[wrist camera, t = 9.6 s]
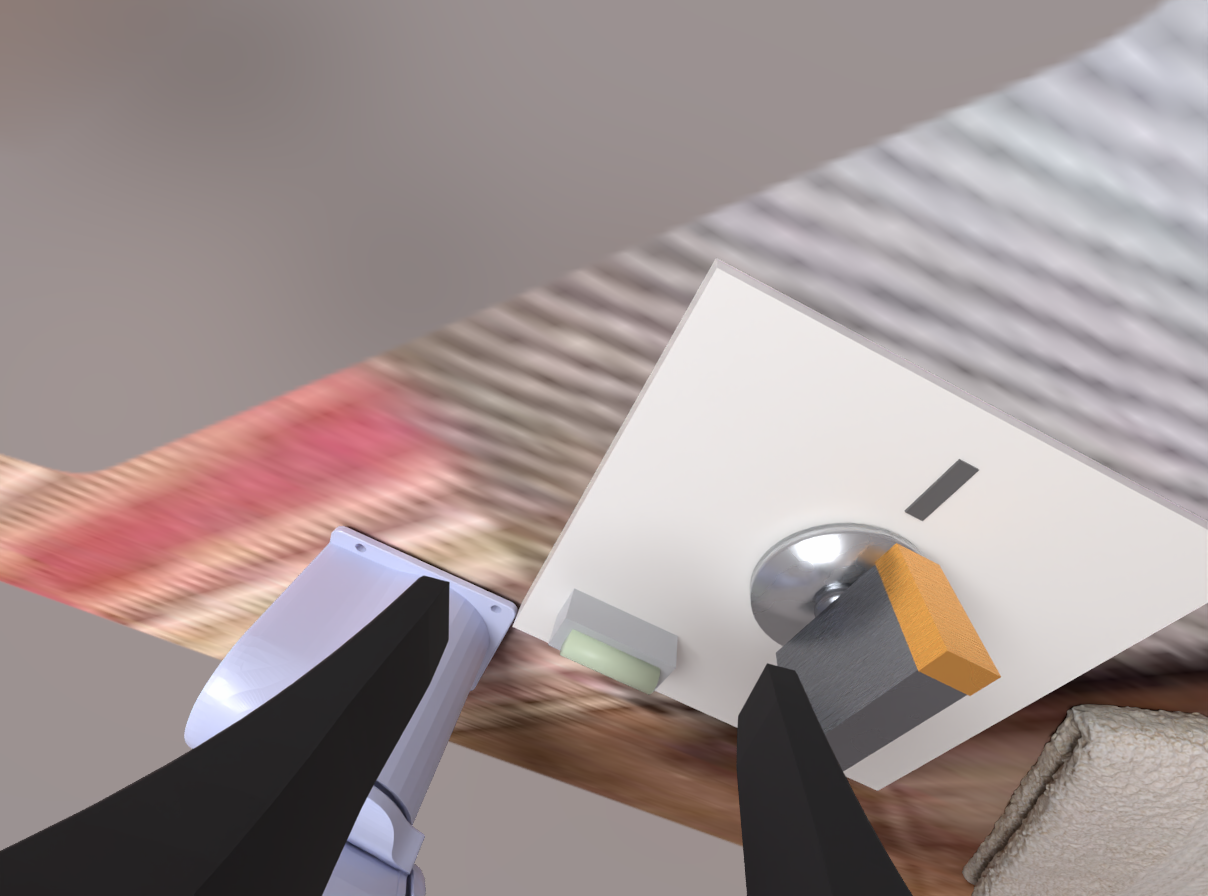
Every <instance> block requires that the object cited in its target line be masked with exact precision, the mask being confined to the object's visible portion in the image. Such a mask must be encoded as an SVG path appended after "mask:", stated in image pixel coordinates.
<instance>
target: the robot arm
mask: <svg viewBox="0 0 1208 896" xmlns="http://www.w3.org/2000/svg"><path fill="white" fill-rule="evenodd" d="M517 610H518V609H517V606H516V605H515V604H514V603H512V602H511V601H509V600H506V599H504V598H502V597H500V596H497V595H495V594H493V593H491V592H489V591H486V590H484V589H482V588H480V587H478V586H475V585H473V584H471V583H469V582H467V581H464V580H462V579H460V578H458V577H456V576H453V575H451V574H449V573H447V572H445V571H442V570H440V569H438V568H436V567H434V566H431V565H429V564H427V563H425V562H423V561H420V560H418V559H416V558H414V557H412V556H409V555H407V554H405V553H403V552H401V551H398V550H396V549H394V548H392V547H389V546H387V545H385V544H383V543H381V542H378V541H376V540H374V539H372V538H370V537H367V536H365V535H363V534H361V533H359V532H356V531H354V530H352V529H350V528H348V527H344V526H339V527H337V528H336V529H335V530H334V531H333V532H332V534H331V539H330V543H329V544H328V545H327V546H326V547H325V548H324V549H323V550H322V551H321V552H320V553H319V555H318V556H317V557H316V558H315V559H314V560H313V561H312V562H311V563H310V564H309V565H308V566H307V567H306V568H305V569H304V571H303V572H302V573H301V574H300V575H299V576H298V577H297V578H296V579H295V580H294V581H293V582H292V583H291V584H290V585H289V587H288V588H287V589H286V590H285V591H284V592H283V593H282V594H281V595H280V596H279V597H278V598H277V599H276V600H275V602H274V603H273V604H272V605H271V606H270V607H269V608H268V609H267V610H266V611H265V612H264V613H263V614H262V615H261V616H260V618H259V619H258V620H257V621H256V622H255V623H254V624H253V625H252V626H251V627H250V628H249V629H248V630H247V631H246V633H245V634H244V635H243V636H242V637H241V638H240V639H239V640H238V642H237V643H236V644H235V645H234V646H233V648H232V649H231V650H230V651H229V653H228V654H227V655H226V657H225V658H224V659H223V661H222V662H221V663H220V665H219V666H218V667H217V669H216V670H215V672H214V673H213V675H212V676H211V678H210V679H209V681H208V682H207V684H206V685H205V687H204V688H203V690H202V692H201V694H200V695H199V697H198V699H197V701H196V703H195V705H194V707H193V709H192V711H191V714H190V716H189V719H188V722H187V725H186V729H185V736H184V738H185V742H186V744H187V745H188V746H189V747H190V748H192V750H191V751H189V752H187V753H185V754H184V755H182V756H180V757H179V758H177V759H175V760H174V761H172V762H170V763H168V764H167V765H165V766H163V767H161V768H159V769H158V770H156V771H154V772H152V773H150V774H148V775H147V776H145V777H143V778H141V779H139V780H138V781H136V782H134V783H132V784H130V785H129V786H127V787H125V788H123V789H121V790H119V791H118V792H116V793H114V794H112V795H110V796H109V797H107V798H105V799H103V800H102V801H99V802H98V803H96V804H94V805H92V806H90V807H88V808H86V809H85V810H82V811H80V812H78V813H76V814H74V815H72V816H70V817H68V818H66V819H64V820H62V821H60V822H58V823H56V824H54V825H52V826H50V827H48V828H46V829H44V830H42V831H40V832H38V833H36V834H34V835H32V836H30V837H28V838H26V839H24V840H22V841H20V842H18V843H16V844H14V845H12V846H9V847H7V848H5V849H3V850H1V851H0V896H425V894H426V888H425V879H424V875H423V873H422V870H421V869H420V868H419V867H418V866H417V865H416V864H414V863H415V860H416V858H417V855H418V853H419V850H420V847H421V845H422V843H423V840H424V838H425V836H424V834H423V833H421V832H420V831H418V830H417V829H415V828H414V827H413V826H412V825H413V823H414V820H415V818H416V816H417V813H418V811H419V809H420V806H421V804H422V802H423V799H424V797H425V794H426V792H427V790H428V787H429V785H430V783H431V781H432V778H433V776H434V774H435V771H436V769H437V767H438V764H439V762H440V759H441V757H442V755H443V753H444V750H445V748H446V746H447V743H448V741H449V739H450V736H451V734H452V732H453V729H454V727H455V725H456V722H457V720H458V718H459V715H460V713H461V711H462V708H463V706H464V704H465V701H466V699H467V697H468V694H469V692H470V691H472V690H474V689H475V687H476V685H477V684H478V682H479V680H480V678H481V676H482V675H483V673H484V671H485V669H486V668H487V666H488V664H489V662H490V661H491V659H492V657H493V655H494V653H495V652H496V650H497V648H498V646H499V645H500V643H501V641H502V639H503V638H504V636H505V634H506V632H507V631H508V629H509V627H510V625H511V623H512V622H513V620H514V618H515V616H516V614H517ZM737 778H738V791H739V804H740V816H741V828H742V840H743V851H744V863H745V875H746V887H747V896H913V895H912V894H911V892H910V891H909V889H908V887H907V886H906V884H905V882H904V881H903V879H902V878H901V876H900V874H899V873H898V871H897V869H896V867H895V866H894V864H893V862H892V861H891V859H890V857H889V856H888V854H887V852H886V850H885V849H884V847H883V845H882V843H881V842H880V840H879V838H878V836H877V834H876V833H875V831H874V829H873V827H872V825H871V824H870V822H869V820H868V818H867V816H866V815H865V813H864V811H863V809H862V807H861V805H860V803H859V801H858V800H857V798H856V796H855V794H854V792H853V790H852V788H851V786H850V784H849V782H848V780H847V778H846V776H845V774H844V772H843V770H842V768H841V766H840V764H839V762H838V760H837V758H836V756H835V754H834V752H833V750H832V748H831V746H830V744H829V742H828V740H827V738H826V736H825V733H824V731H823V729H822V727H821V725H820V723H819V721H818V719H817V716H816V714H815V712H814V710H813V708H812V705H811V703H810V701H809V699H808V697H807V694H806V692H805V690H804V688H803V685H802V683H801V681H800V679H799V676H798V674H797V673H796V671H795V670H791V669H788V668H784V667H780V666H776V665H772V664H768V663H767V664H766V666H765V668H764V670H763V672H762V673H761V675H760V677H759V679H758V681H757V682H756V684H755V686H754V688H753V690H752V692H751V693H750V695H749V697H748V699H747V701H746V702H745V704H744V706H743V708H742V710H741V712H740V713H739V715H738V730H737Z"/></svg>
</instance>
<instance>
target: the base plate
mask: <svg viewBox="0 0 1208 896" xmlns="http://www.w3.org/2000/svg"><path fill="white" fill-rule="evenodd" d="M834 523H857V524H866V525H871V526H876V527H880V528H883V529H886V530H889V531H891V532H894V533H896V534H898V535H900V536H902V537H903V538H905V539H907V540H908V541H910V542H911V543H912V544H913V545H915V546H916V547H917V548H918V549H919V550H920V551H921V552H922V554H923V555H924V556H925V558H927V559H929V560H931V561H933V562H935V563H937V564H939V565H940V567H941V569H942V571H943V572H944V574H945V576H946V578H947V580H948V581H949V583H950V585H951V587H952V589H953V590H954V592H955V594H956V596H957V598H958V599H959V601H960V603H961V605H962V607H963V609H964V610H965V612H966V614H967V616H968V618H969V619H970V621H971V623H972V625H973V627H974V628H975V630H976V632H977V634H978V636H979V637H980V639H981V641H982V643H983V645H984V647H985V648H986V650H987V652H988V654H989V656H990V657H991V659H992V661H993V663H994V665H995V666H996V668H997V670H998V672H999V674H1000V676H1001V678H999V679H997V680H996V681H994V682H992V683H991V684H989V685H988V686H986V687H984V688H983V689H981V690H979V691H978V692H976V693H975V694H973V695H971V696H969V695H967V696H965V697H963V698H962V699H960V700H958V701H957V702H955V703H954V704H952V705H950V706H949V707H947V708H945V709H944V710H942V711H941V712H939V713H937V714H936V715H934V716H933V717H931V718H929V719H928V720H926V721H924V722H923V723H921V724H920V725H918V726H916V727H915V728H913V729H911V730H910V731H908V732H907V733H905V734H903V735H902V736H900V737H899V738H897V739H895V740H894V741H892V742H890V743H889V744H887V745H886V746H884V747H882V748H881V749H879V750H877V751H876V752H874V753H873V754H871V755H869V756H868V757H866V758H865V759H863V760H861V761H860V762H858V763H856V764H855V765H853V766H852V767H850V768H848V769H847V770H845V771H843V772H844V774H845V776H846V777H848V778H850V779H853V780H855V781H857V782H859V783H861V784H864V785H866V786H868V787H870V788H873V789H875V790H877V791H878V790H880V789H882V788H883V787H885V786H887V785H889V784H890V783H892V782H894V781H896V780H898V779H899V778H901V777H903V776H905V775H906V774H908V773H910V772H912V771H913V770H915V769H917V768H919V767H920V766H922V765H924V764H926V763H927V762H929V761H931V760H933V759H934V758H936V757H938V756H940V755H941V754H943V753H945V752H947V751H948V750H950V749H952V748H954V747H955V746H957V745H959V744H961V743H962V742H964V741H966V740H968V739H969V738H971V737H973V736H975V735H976V734H978V733H980V732H982V731H983V730H985V729H987V728H989V727H990V726H992V725H994V724H996V723H997V722H999V721H1001V720H1003V719H1004V718H1006V717H1008V716H1010V715H1011V714H1013V713H1015V712H1017V711H1018V710H1020V709H1022V708H1024V707H1025V706H1027V705H1029V704H1031V703H1033V702H1034V701H1036V700H1038V699H1040V698H1041V697H1043V696H1045V695H1047V694H1048V693H1050V692H1052V691H1054V690H1055V689H1057V688H1059V687H1061V686H1062V685H1064V684H1066V683H1068V682H1069V681H1071V680H1073V679H1075V678H1076V677H1078V676H1080V675H1082V674H1083V673H1085V672H1087V671H1089V670H1090V669H1092V668H1094V667H1096V666H1097V665H1099V664H1101V663H1103V662H1104V661H1106V660H1108V659H1110V658H1111V657H1113V656H1115V655H1117V654H1118V653H1120V652H1122V651H1124V650H1125V649H1127V648H1129V647H1131V646H1132V645H1134V644H1136V643H1138V642H1139V641H1141V640H1143V639H1145V638H1146V637H1148V636H1150V635H1152V634H1153V633H1155V632H1157V631H1159V630H1161V629H1162V628H1164V627H1166V626H1168V625H1169V624H1171V623H1173V622H1175V621H1176V620H1178V619H1180V618H1182V617H1183V616H1185V615H1187V614H1189V613H1190V612H1192V611H1194V610H1196V609H1197V608H1199V607H1201V606H1203V605H1204V604H1206V603H1208V521H1207V520H1205V519H1203V518H1201V517H1199V516H1198V515H1196V514H1194V513H1192V512H1190V511H1188V510H1186V509H1184V508H1183V507H1181V506H1179V505H1177V504H1175V503H1173V502H1171V501H1170V500H1168V499H1166V498H1164V497H1162V496H1160V495H1158V494H1156V493H1155V492H1153V491H1151V490H1149V489H1147V488H1145V487H1143V486H1142V485H1140V484H1138V483H1136V482H1134V481H1132V480H1130V479H1128V478H1127V477H1125V476H1123V475H1121V474H1119V473H1117V472H1115V471H1114V470H1112V469H1110V468H1108V467H1106V466H1104V465H1102V464H1100V463H1099V462H1097V461H1095V460H1093V459H1091V458H1089V457H1087V456H1086V455H1084V454H1082V453H1080V452H1078V451H1076V450H1074V449H1072V448H1071V447H1069V446H1067V445H1065V444H1063V443H1061V442H1059V441H1058V440H1056V439H1054V438H1052V437H1050V436H1048V435H1046V434H1044V433H1043V432H1041V431H1039V430H1037V429H1035V428H1033V427H1031V426H1030V425H1028V424H1026V423H1024V422H1022V421H1020V420H1018V419H1016V418H1015V417H1013V416H1011V415H1009V414H1007V413H1005V412H1003V411H1002V410H1000V409H998V408H996V407H994V406H992V405H990V404H988V403H987V402H985V401H983V400H981V399H979V398H977V397H975V396H974V395H972V394H970V393H968V392H966V391H964V390H962V389H961V388H959V387H957V386H955V385H953V384H951V383H949V382H947V381H946V380H944V379H942V378H940V377H938V376H936V375H934V374H933V373H931V372H929V371H927V370H925V369H923V368H921V367H919V366H918V365H916V364H914V363H912V362H910V361H908V360H906V359H905V358H903V357H901V356H899V355H897V354H895V353H893V352H891V351H890V350H888V349H886V348H884V347H882V346H880V345H878V344H877V343H875V342H873V341H871V340H869V339H867V338H865V337H863V336H862V335H860V334H858V333H856V332H854V331H852V330H850V329H849V328H847V327H845V326H843V325H841V324H839V323H837V322H835V321H834V320H832V319H830V318H828V317H826V316H824V315H822V314H821V313H819V312H817V311H815V310H813V309H811V308H809V307H807V306H806V305H804V304H802V303H800V302H798V301H796V300H794V299H793V298H791V297H789V296H787V295H785V294H783V293H781V292H779V291H778V290H776V289H774V288H772V287H770V286H768V285H766V284H765V283H763V282H761V281H759V280H757V279H755V278H753V277H751V276H750V275H748V274H746V273H744V272H742V271H740V270H738V269H737V268H735V267H733V266H731V265H729V264H727V263H725V262H723V261H722V260H720V259H718V258H716V259H715V261H714V262H713V264H712V266H711V268H710V269H709V271H708V273H707V275H706V277H705V278H704V280H703V282H702V284H701V285H700V287H699V289H698V291H697V293H696V294H695V296H694V298H693V300H692V301H691V303H690V305H689V307H688V309H687V310H686V312H685V314H684V316H683V317H682V319H681V321H680V323H679V324H678V326H677V328H676V330H675V332H674V333H673V335H672V337H671V339H670V340H669V342H668V344H667V346H666V348H665V349H664V351H663V353H662V355H661V356H660V358H659V360H658V362H657V364H656V365H655V367H654V369H653V371H652V372H651V374H650V376H649V378H648V380H647V381H646V383H645V385H644V387H643V388H642V390H641V392H640V394H639V395H638V397H637V399H636V401H635V403H634V404H633V406H632V408H631V410H630V411H629V413H628V415H627V417H626V419H625V420H624V422H623V424H622V426H621V427H620V429H619V431H618V433H617V435H616V436H615V438H614V440H613V442H612V443H611V445H610V447H609V449H608V451H607V452H606V454H605V456H604V458H603V459H602V461H601V463H600V465H599V467H598V468H597V470H596V472H595V474H594V475H593V477H592V479H591V481H590V482H589V484H588V486H587V488H586V490H585V491H584V493H583V495H582V497H581V498H580V500H579V502H578V504H577V506H576V507H575V509H574V511H573V513H572V514H571V516H570V518H569V520H568V522H567V523H566V525H565V527H564V529H563V530H562V532H561V534H560V536H559V538H558V539H557V541H556V543H555V545H554V546H553V548H552V550H551V552H550V553H549V555H548V557H547V559H546V561H545V562H544V564H543V566H542V568H541V569H540V571H539V573H538V575H537V577H536V578H535V580H534V582H533V584H532V585H531V587H530V589H529V591H528V593H527V594H526V596H525V598H524V600H523V601H522V604H521V606H520V609H519V611H518V614H517V616H516V619H515V621H514V624H513V626H512V627H514V628H516V629H519V630H521V631H523V632H525V633H528V634H530V635H532V636H534V637H536V638H539V639H541V640H543V641H545V642H548V645H549V646H552V647H554V648H556V649H558V650H561V651H560V655H561V656H563V657H566V658H568V659H570V660H572V661H574V662H577V663H579V664H581V665H583V666H586V667H588V668H590V669H592V670H595V671H597V672H599V673H601V674H604V675H606V676H608V677H610V678H612V679H615V680H617V681H619V682H621V683H624V684H626V685H628V686H630V687H633V688H635V689H637V690H639V691H641V692H644V693H646V694H648V695H650V694H651V693H652V692H654V691H657V692H659V693H661V694H663V695H666V696H668V697H670V698H672V699H674V700H677V701H679V702H681V703H683V704H686V705H688V706H690V707H692V708H695V709H697V710H699V711H701V712H703V713H706V714H708V715H710V716H712V717H715V718H717V719H719V720H721V721H723V722H726V723H728V724H730V725H732V726H735V727H737V728H738V715H739V713H740V712H741V710H742V708H743V706H744V704H745V702H746V701H747V699H748V697H749V695H750V693H751V692H752V690H753V688H754V686H755V684H756V682H757V681H758V679H759V677H760V675H761V673H762V672H763V670H764V668H765V666H766V664H767V663H768V664H772V665H776V666H777V659H776V652H777V651H778V650H779V649H781V648H782V647H783V646H781V645H780V644H778V643H777V642H775V641H774V640H772V639H771V638H770V637H769V636H768V635H767V634H766V633H765V632H764V631H763V630H762V629H761V628H760V626H759V625H758V623H757V621H756V620H755V618H754V615H753V612H752V608H751V601H750V579H751V575H752V573H753V570H754V568H755V566H756V564H757V563H758V561H759V560H760V558H761V557H762V556H763V555H764V554H765V553H766V552H767V551H768V550H769V549H770V548H771V547H772V546H774V545H775V544H776V543H778V542H779V541H781V540H782V539H784V538H786V537H788V536H789V535H792V534H794V533H796V532H799V531H801V530H804V529H808V528H811V527H815V526H820V525H825V524H834Z"/></svg>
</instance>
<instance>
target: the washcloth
mask: <svg viewBox="0 0 1208 896" xmlns="http://www.w3.org/2000/svg"><path fill="white" fill-rule="evenodd" d="M1031 768H1032V770H1030V771H1029V772H1028V774H1027V776H1025V777H1024V778H1023V779H1022V781H1021V785H1020V786H1019V787H1018V789H1016V790H1015V791H1014V793H1015V794H1014V795H1012V799H1011V800H1010V802H1011V803H1010V804H1009V805H1008V806H1007V807H1006V809H1005V814H1004V815H1002V816H1001V817H1000V819H999V820H998V821H997V822H996V823H995V829H993V830H992V832H991V835H989V836H987V837H986V838H985V841H984V842H983V843H982V844H981V845H980V847H979V848H978V851H977V852H976V853H974V855H973V858H971V859H970V860H969V862H968V863H967V864H966V865H965V866H964V867H963V871H962V873H963V875H964V877H965V879H966V880H967V881H968V882H969V883H971V884H974V885H975V887H974V891H973V893H972V896H1208V717H1205V716H1204V715H1202V714H1199V713H1191V714H1190V713H1183V712H1180V711H1177V712H1167V711H1164V710H1158V711H1151V710H1148V709H1145V710H1144V709H1139V708H1136V707H1135V708H1130V707H1128V706H1126V707H1123V708H1120V707H1117V706H1113V705H1095V704H1085V705H1080V706H1076V707H1074V706H1073V708H1072V710H1068V711H1067V717H1066V719H1065V720H1064V722H1063V723H1062V724H1061V725H1060V726H1059V727H1058V728H1057V731H1056V734H1054V735H1052V737H1051V742H1049V743H1046V745H1045V747H1044V749H1043V752H1042V755H1041V756H1040V757H1038V762H1037V764H1036V765H1035V766H1032V767H1031Z"/></svg>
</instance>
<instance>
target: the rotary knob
mask: <svg viewBox="0 0 1208 896" xmlns="http://www.w3.org/2000/svg"><path fill="white" fill-rule="evenodd" d="M750 601H751V608H752V612H753V615H754V618H755V620H756V621H757V623H758V625H759V626H760V628H761V629H762V630H763V631H764V632H765V633H766V634H767V635H768V636H769V637H770V638H771V639H772V640H774V641H775V642H777V643H778V644H780V645H781V646H783V647H782V648H781V649H779V650H778V651H777V652H776V659H777V666H780V667H784V668H788V669H791V670H795V671H796V673H797V674H798V676H799V679H800V681H801V683H802V685H803V688H804V690H805V692H806V694H807V697H808V699H809V701H810V703H811V705H812V708H813V710H814V712H815V714H816V716H817V719H818V721H819V723H820V725H821V727H822V729H823V731H824V733H825V736H826V738H827V740H828V742H829V744H830V746H831V748H832V750H833V752H834V754H835V756H836V758H837V760H838V762H839V764H840V766H841V768H842V770H843V771H845V770H847V769H848V768H850V767H852V766H853V765H855V764H856V763H858V762H860V761H861V760H863V759H865V758H866V757H868V756H869V755H871V754H873V753H874V752H876V751H877V750H879V749H881V748H882V747H884V746H886V745H887V744H889V743H890V742H892V741H894V740H895V739H897V738H899V737H900V736H902V735H903V734H905V733H907V732H908V731H910V730H911V729H913V728H915V727H916V726H918V725H920V724H921V723H923V722H924V721H926V720H928V719H929V718H931V717H933V716H934V715H936V714H937V713H939V712H941V711H942V710H944V709H945V708H947V707H949V706H950V705H952V704H954V703H955V702H957V701H958V700H960V699H962V698H963V697H965V696H967V695H969V696H971V695H973V694H975V693H976V692H978V691H979V690H981V689H983V688H984V687H986V686H988V685H989V684H991V683H992V682H994V681H996V680H997V679H999V678H1001V676H1000V674H999V672H998V670H997V668H996V666H995V665H994V663H993V661H992V659H991V657H990V656H989V654H988V652H987V650H986V648H985V647H984V645H983V643H982V641H981V639H980V637H979V636H978V634H977V632H976V630H975V628H974V627H973V625H972V623H971V621H970V619H969V618H968V616H967V614H966V612H965V610H964V609H963V607H962V605H961V603H960V601H959V599H958V598H957V596H956V594H955V592H954V590H953V589H952V587H951V585H950V583H949V581H948V580H947V578H946V576H945V574H944V572H943V571H942V569H941V567H940V565H939V564H937V563H935V562H933V561H931V560H929V559H927V558H925V556H924V555H923V554H922V552H921V551H920V550H919V549H918V548H917V547H916V546H915V545H913V544H912V543H911V542H910V541H908V540H907V539H905V538H903V537H902V536H900V535H898V534H896V533H894V532H891V531H889V530H886V529H883V528H880V527H876V526H871V525H866V524H857V523H834V524H825V525H820V526H815V527H811V528H808V529H804V530H801V531H799V532H796V533H794V534H792V535H789V536H788V537H786V538H784V539H782V540H781V541H779V542H778V543H776V544H775V545H774V546H772V547H771V548H770V549H769V550H768V551H767V552H766V553H765V554H764V555H763V556H762V557H761V558H760V560H759V561H758V563H757V564H756V566H755V568H754V570H753V573H752V575H751V579H750Z"/></svg>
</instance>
